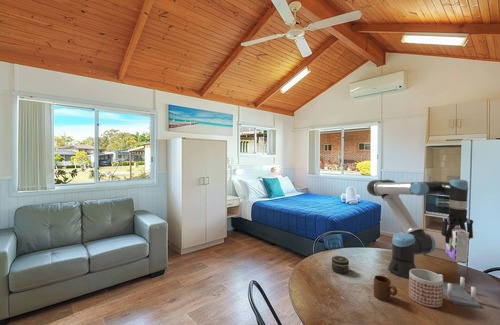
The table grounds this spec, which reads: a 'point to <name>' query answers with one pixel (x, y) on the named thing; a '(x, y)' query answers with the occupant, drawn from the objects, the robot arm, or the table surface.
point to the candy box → (459, 245)
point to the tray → (460, 293)
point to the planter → (426, 288)
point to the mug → (383, 288)
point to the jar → (340, 264)
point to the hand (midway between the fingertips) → (456, 249)
